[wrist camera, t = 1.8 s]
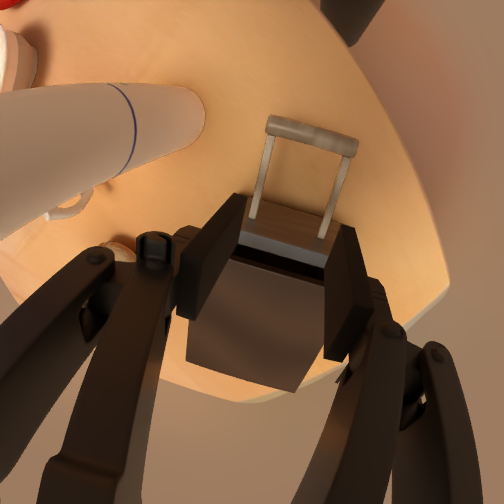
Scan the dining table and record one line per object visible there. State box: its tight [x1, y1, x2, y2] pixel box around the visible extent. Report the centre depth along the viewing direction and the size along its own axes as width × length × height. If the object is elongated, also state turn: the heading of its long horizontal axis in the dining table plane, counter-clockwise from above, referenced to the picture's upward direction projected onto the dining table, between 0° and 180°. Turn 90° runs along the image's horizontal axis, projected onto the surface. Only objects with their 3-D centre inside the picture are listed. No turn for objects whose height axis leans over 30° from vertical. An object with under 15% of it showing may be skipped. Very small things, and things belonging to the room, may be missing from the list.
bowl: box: [0, 24, 38, 93], centre depth 22 cm, size 16×16×9 cm
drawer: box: [232, 114, 359, 281], centre depth 26 cm, size 22×11×8 cm, turn 168°
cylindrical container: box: [0, 83, 205, 241], centre depth 17 cm, size 7×7×25 cm
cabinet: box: [186, 254, 325, 393], centre depth 30 cm, size 15×13×10 cm
